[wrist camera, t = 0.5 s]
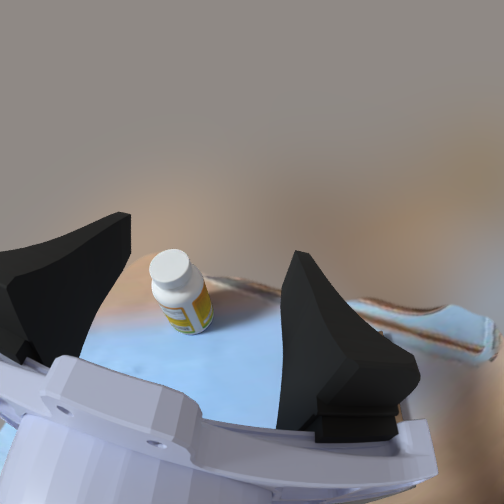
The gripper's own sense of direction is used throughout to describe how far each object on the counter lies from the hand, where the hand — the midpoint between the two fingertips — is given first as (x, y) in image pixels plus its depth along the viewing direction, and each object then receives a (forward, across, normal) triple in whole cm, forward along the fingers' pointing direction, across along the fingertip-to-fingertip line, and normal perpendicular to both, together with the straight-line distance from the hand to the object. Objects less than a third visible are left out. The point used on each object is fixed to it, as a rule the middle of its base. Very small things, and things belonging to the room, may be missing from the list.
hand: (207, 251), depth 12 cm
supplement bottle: (+14, +2, +19) cm, 23 cm away
